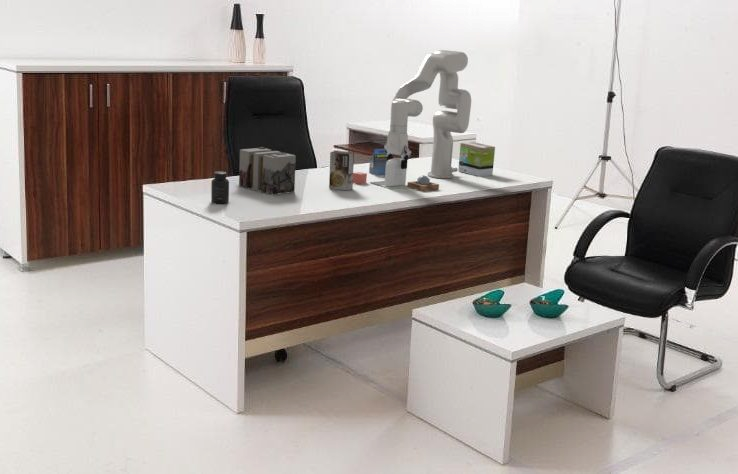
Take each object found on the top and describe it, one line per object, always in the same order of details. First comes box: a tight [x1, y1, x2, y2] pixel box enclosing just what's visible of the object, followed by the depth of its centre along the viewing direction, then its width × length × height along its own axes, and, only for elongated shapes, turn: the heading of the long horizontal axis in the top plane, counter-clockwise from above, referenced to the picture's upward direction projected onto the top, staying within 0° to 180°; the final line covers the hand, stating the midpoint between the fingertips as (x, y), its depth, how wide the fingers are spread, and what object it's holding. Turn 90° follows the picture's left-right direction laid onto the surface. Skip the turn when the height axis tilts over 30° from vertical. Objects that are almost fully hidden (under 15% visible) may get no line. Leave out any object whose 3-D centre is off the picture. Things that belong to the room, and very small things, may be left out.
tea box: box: [457, 141, 496, 178], centre depth 451 cm, size 15×10×15 cm, turn 41°
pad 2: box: [379, 184, 408, 190], centre depth 408 cm, size 12×6×1 cm, turn 129°
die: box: [353, 171, 367, 185], centre depth 411 cm, size 4×4×5 cm
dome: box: [416, 175, 431, 185], centre depth 406 cm, size 6×6×5 cm
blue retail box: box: [368, 148, 387, 176], centre depth 436 cm, size 9×4×12 cm, turn 121°
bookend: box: [238, 146, 297, 195], centre depth 385 cm, size 16×25×16 cm, turn 45°
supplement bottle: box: [210, 170, 230, 205], centre depth 354 cm, size 7×7×12 cm
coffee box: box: [328, 150, 355, 192], centre depth 395 cm, size 9×6×16 cm
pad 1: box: [369, 180, 385, 187], centre depth 413 cm, size 12×6×1 cm, turn 129°
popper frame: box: [406, 180, 440, 192], centre depth 407 cm, size 10×10×2 cm
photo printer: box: [384, 157, 408, 186], centre depth 407 cm, size 10×4×12 cm, turn 125°
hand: (396, 166), depth 407 cm, fingers open, 9 cm apart
